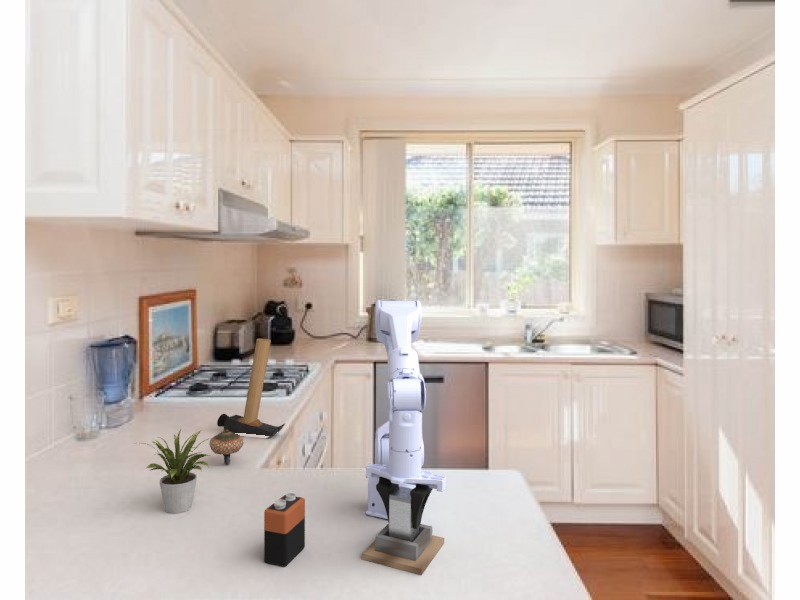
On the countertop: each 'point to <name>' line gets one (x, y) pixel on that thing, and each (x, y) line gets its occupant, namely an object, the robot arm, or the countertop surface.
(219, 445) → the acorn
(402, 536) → the peg
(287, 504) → the battery
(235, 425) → the hammer
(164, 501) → the house plant
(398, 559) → the socket block
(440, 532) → the countertop surface
